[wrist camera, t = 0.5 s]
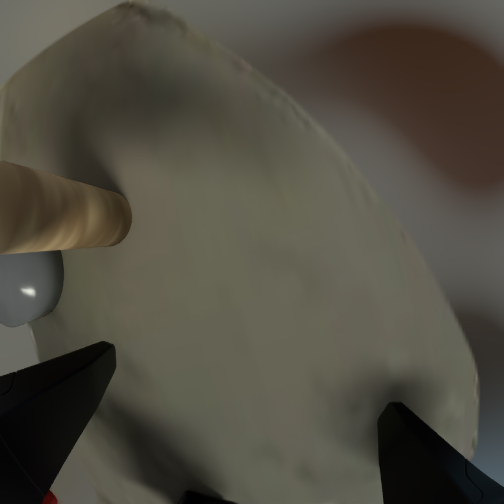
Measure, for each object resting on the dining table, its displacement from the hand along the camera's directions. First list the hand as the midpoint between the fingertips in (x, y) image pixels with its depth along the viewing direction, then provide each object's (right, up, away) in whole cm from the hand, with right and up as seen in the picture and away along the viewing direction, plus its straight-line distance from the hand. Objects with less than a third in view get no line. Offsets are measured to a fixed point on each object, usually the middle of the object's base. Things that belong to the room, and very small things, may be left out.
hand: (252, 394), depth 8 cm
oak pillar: (-12, +7, +14) cm, 20 cm away
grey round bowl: (-22, +3, +15) cm, 26 cm away
